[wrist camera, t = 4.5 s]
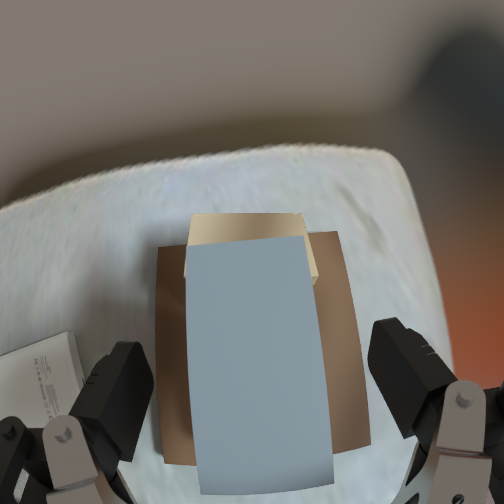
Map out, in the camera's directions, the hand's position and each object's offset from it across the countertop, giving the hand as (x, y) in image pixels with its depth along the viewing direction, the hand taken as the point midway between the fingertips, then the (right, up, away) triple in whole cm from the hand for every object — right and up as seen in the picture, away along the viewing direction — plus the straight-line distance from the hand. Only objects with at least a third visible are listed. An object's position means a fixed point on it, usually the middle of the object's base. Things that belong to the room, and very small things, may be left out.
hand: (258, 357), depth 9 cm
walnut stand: (0, -2, +7) cm, 8 cm away
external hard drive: (-17, -8, +6) cm, 20 cm away
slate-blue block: (0, -3, +6) cm, 7 cm away
